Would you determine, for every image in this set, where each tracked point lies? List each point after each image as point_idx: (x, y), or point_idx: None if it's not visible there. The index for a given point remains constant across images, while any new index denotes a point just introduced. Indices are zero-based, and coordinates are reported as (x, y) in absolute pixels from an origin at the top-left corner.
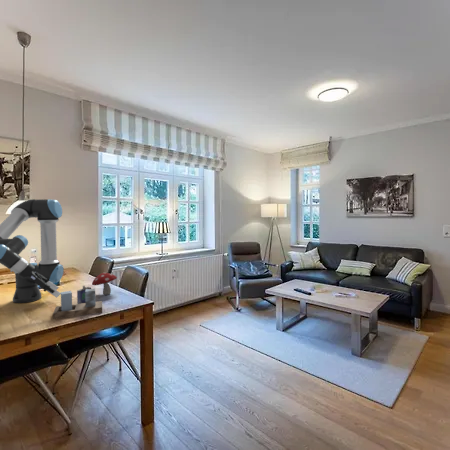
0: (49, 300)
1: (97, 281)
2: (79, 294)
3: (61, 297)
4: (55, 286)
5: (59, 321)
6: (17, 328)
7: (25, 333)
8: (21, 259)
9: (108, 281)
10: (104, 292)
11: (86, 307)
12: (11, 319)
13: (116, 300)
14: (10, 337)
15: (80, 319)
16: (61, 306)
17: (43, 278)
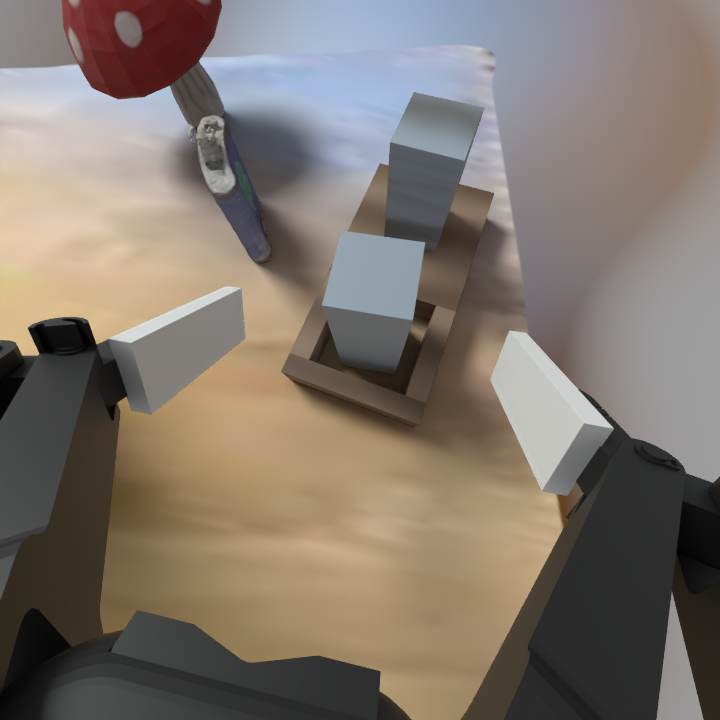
0: (33, 353)
1: (161, 44)
2: (247, 208)
3: (399, 331)
4: (223, 308)
5: (480, 409)
6: (441, 648)
7: None
8: None
9: (220, 7)
10: (206, 114)
11: (440, 249)
12: None
13: (345, 121)
14: None
15: (521, 319)
16: (366, 354)
17: (77, 440)
